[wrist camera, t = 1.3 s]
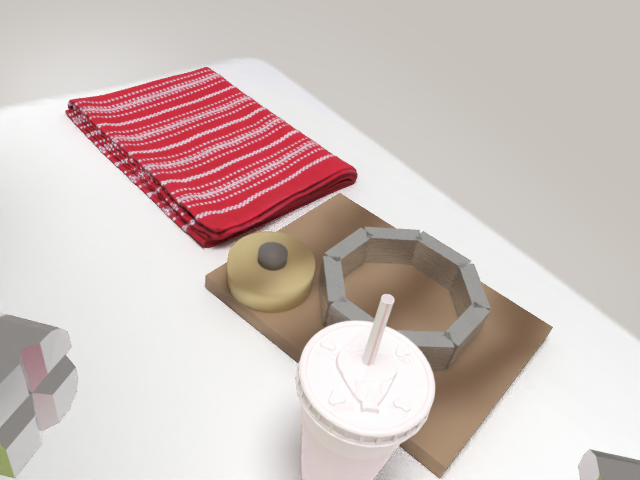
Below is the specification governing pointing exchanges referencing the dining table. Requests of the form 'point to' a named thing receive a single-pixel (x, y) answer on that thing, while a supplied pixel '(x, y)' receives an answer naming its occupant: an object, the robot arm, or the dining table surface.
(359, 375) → the smoothie
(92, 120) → the dish towel
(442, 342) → the socket ring
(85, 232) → the dining table surface
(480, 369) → the carrier board
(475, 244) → the dining table surface
